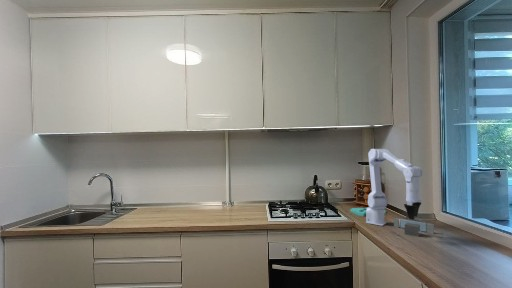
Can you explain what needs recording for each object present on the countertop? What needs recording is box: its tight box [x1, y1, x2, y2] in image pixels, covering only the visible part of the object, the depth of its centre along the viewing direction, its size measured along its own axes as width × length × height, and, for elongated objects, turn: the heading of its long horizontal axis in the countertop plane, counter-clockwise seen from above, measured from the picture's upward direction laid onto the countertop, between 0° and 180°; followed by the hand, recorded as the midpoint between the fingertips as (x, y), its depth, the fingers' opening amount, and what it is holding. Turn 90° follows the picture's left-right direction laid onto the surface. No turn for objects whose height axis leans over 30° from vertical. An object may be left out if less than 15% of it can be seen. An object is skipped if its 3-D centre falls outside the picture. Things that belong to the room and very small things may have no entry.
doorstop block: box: [404, 223, 421, 238], centre depth 139 cm, size 6×5×5 cm
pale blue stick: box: [400, 218, 427, 233], centre depth 147 cm, size 12×1×4 cm, turn 48°
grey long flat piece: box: [393, 217, 435, 234], centre depth 147 cm, size 19×1×5 cm, turn 48°
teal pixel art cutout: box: [349, 207, 387, 217], centre depth 185 cm, size 20×2×20 cm
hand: (412, 217), depth 135 cm, fingers open, 7 cm apart
